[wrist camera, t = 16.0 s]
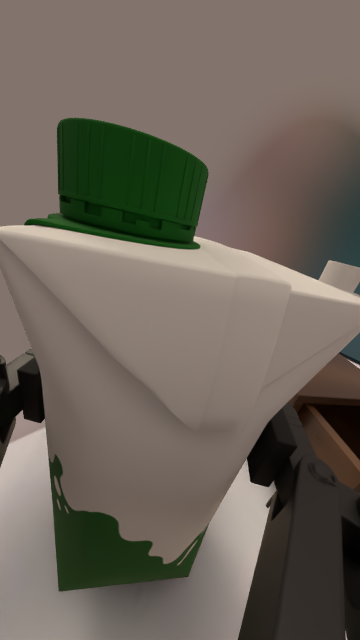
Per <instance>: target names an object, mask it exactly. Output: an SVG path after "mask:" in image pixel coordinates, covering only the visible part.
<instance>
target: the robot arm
mask: <svg viewBox="0 0 360 640" xmlns="http://www.w3.org/2000/svg"><path fill="white" fill-rule="evenodd" d="M22 410H23V415H24V419H27V420H31V421H34V422H38V423H41V422H42V421H43V420H44V419H45V412H44V401H43V391H42V380H41V374H40V369H39V366H38V363H37V360H36V358H35V355H34V353H33V350H32V349H29V350H28V351H26V352H25V354H22V355H21V356H19V357H18V358H16V359H15V360H13V361H12V362H10V363H9V364H7V365H6V362H5V359H4V357H3V356H1V355H0V467H1V464H2V461H3V458H4V455H5V452H6V449H7V447H8V444H9V441H10V438H11V435H12V432H13V430H14V427H15V422H16V418H15V417H16V415H18V414H19V413H20V412H21V411H22ZM247 461H248V468H249V474H250V481H251V482H252V483H255V484H259V485H262V486H266V487H269V486H270V484H271V483H272V482H273V480H275V484H276V488H277V491H276V492H275V493H274V495H273V496H272V497H271V498H270V500H269V501H268V503H267V504H266V507H267V508H269V507H270V510H269V514H268V519H267V523H266V527H265V531H264V535H263V539H262V543H261V547H260V551H259V555H258V559H257V563H256V568H255V572H254V576H253V580H252V584H251V588H250V592H249V596H248V600H247V604H246V608H245V612H244V617H243V621H242V625H241V629H240V633H239V637H238V640H346V637H345V629H346V634H347V639H348V640H360V493H359V492H357V491H355V490H353V489H352V488H350V487H348V486H346V485H345V484H343V483H341V482H340V481H339V480H338V478H337V477H336V475H335V473H334V472H333V470H332V469H331V468H330V467H329V466H328V465H327V464H326V463H325V462H323V461H322V460H321V459H319V458H317V456H316V454H315V452H314V450H313V447H312V445H311V443H310V441H309V439H308V436H307V434H306V432H305V430H304V428H303V425H302V423H301V421H300V420H299V417H298V415H297V412H296V410H295V409H294V408H293V406H292V405H291V404H290V403H289V402H287V403H286V404H285V405H284V406H283V407H282V408H281V409H280V410H279V411H278V412H277V413H276V414H275V415H274V416H273V417H272V418H271V419H270V421H269V422H268V423H267V425H266V426H265V428H264V430H263V431H262V433H261V435H260V436H259V438H258V440H257V441H256V443H255V445H254V446H253V448H252V450H251V452H250V453H249V455H248V457H247ZM270 505H271V506H270Z"/></svg>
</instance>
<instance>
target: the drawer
mask: <svg viewBox="0 0 360 640" xmlns="http://www.w3.org/2000/svg"><path fill="white" fill-rule="evenodd" d="M297 415H298V417H299V420H300V421H301V423H302V425H303V428H304V430H305V432H306V434H307V436H308V439H309V441H310V443H311V445H312V447H313V450H314V452H315V454H316V456H317V458H319V459H321V460H322V461H323V462H325V463H326V464H327V465H328V466H329V467H330V468H331V469H332V470H333V472H334V473H335V475H336V477H337V478H338V480H339V481H340V482H341V483H343V484H345V485H346V486H348V487H350V488H352V489H353V490H355V491H357V492H359V493H360V406H348V405H330V404H311V403H303V405H302V406H301V408H300V409H299V411H298V412H297Z"/></svg>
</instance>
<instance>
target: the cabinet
mask: <svg viewBox="0 0 360 640" xmlns="http://www.w3.org/2000/svg"><path fill="white" fill-rule="evenodd" d="M288 402H289V403H290V404H291V405H292V406H293V408H294V409H295V410H296V412H298V411H299V409H300V408H301V406H302V405H303V403H311V404H330V405H348V406H360V369H359V368H357V367H356V366H355V365H353V364H352V363H351V362H349V361H348V360H347V359H345V358H344V357H343V356H342V355H340V354H339V353H338V354H337V355H336V356H335V357H334V358H333V359H332V360H331V361H330V362H328V363H327V364H326V365H325V366H324V367H323V368H322V369H321V370H320V371H319V372H318V373H317V374H316V375H315V376H314V377H313V378H312V379H311V380H310V381H309V382H308V383H307V384H306V385H305V386H304V387H303V388H302V389H301V390H300V391H299V392H298V393H297V394H296V395H294V396H293V397H292V398H291V399H290V400H289V401H288Z"/></svg>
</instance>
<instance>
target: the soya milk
mask: <svg viewBox="0 0 360 640" xmlns="http://www.w3.org/2000/svg"><path fill="white" fill-rule="evenodd" d="M57 148H58V149H57V151H58V194H60V197H59V200H60V213H57V214H50V215H48V218H47V219H44V218H43V219H41V218H37V219H29V220H27V221H26V222H25V224H24V226H4V227H0V268H1V271H2V273H3V276H4V278H5V280H6V284H7V286H8V289H9V291H10V294H11V296H12V299H13V301H14V304H15V306H16V309H17V312H18V314H19V317H20V319H21V322H22V324H23V327H24V330H25V332H26V335H27V337H28V340H29V342H30V345H31V347H32V350H33V353H34V355H35V358H36V360H37V363H38V366H39V369H40V374H41V380H42V391H43V401H44V412H45V422H46V434H47V445H48V456H49V468H50V479H51V490H52V501H53V515H54V530H55V544H56V558H57V572H58V587H59V591H68V590H77V589H85V588H94V587H103V586H111V585H120V584H129V583H138V582H146V581H155V580H164V579H172V578H181V577H188V576H189V573H190V570H191V568H192V565H193V563H194V560H195V557H196V555H197V552H198V550H199V547H200V545H201V542H202V540H203V537H204V535H205V532H206V530H207V527H208V524H209V522H210V521H211V519H212V517H213V515H214V514H215V512H216V510H217V508H218V507H219V505H220V503H221V501H222V500H223V498H224V496H225V495H226V493H227V491H228V489H229V488H230V486H231V484H232V482H233V481H234V479H235V477H236V476H237V474H238V472H239V470H240V469H241V467H242V465H243V464H244V462H245V460H246V458H247V457H248V455H249V453H250V452H251V450H252V448H253V446H254V445H255V443H256V441H257V440H258V438H259V436H260V435H261V433H262V431H263V430H264V428H265V426H266V425H267V423H268V422H269V421H270V419H271V418H272V417H273V416H274V415H275V414H276V413H277V412H278V411H279V410H280V409H281V408H282V407H283V406H284V405H285V404H286V403H287V402H288V401H289V400H290V399H291V398H292V397H293V396H294V395H296V394H297V393H298V392H299V391H300V390H301V389H302V388H303V387H304V386H305V385H306V384H307V383H308V382H309V381H310V380H311V379H312V378H313V377H314V376H315V375H316V374H317V373H318V372H319V371H320V370H321V369H322V368H323V367H324V366H325V365H326V364H327V363H328V362H330V361H331V360H332V359H333V358H334V357H335V356H336V355H337V354H338V353H339V352H340V351H341V350H342V349H343V348H344V347H345V346H346V345H347V344H348V343H349V342H350V341H351V340H352V339H353V338H354V337H355V336H356V335H357V334H358V333H360V298H359V297H357V296H354V295H352V294H349V293H347V292H345V291H342V290H340V289H337V288H335V287H333V286H330V285H328V284H325V283H323V282H320V281H318V280H315V279H313V278H311V277H308V276H306V275H303V274H301V273H299V272H296V271H294V270H291V269H289V268H286V267H284V266H282V265H279V264H277V263H274V262H272V261H269V260H267V259H264V258H262V257H260V256H257V255H255V254H252V253H250V252H246V251H242V250H237V249H232V248H229V247H227V246H224V245H222V244H219V243H216V242H214V241H210V240H206V239H203V238H199V237H195V236H194V235H195V230H196V227H195V226H197V225H198V219H199V215H200V210H201V206H202V201H203V197H204V192H205V188H206V183H207V179H208V169H207V167H206V165H205V164H204V163H203V162H202V161H201V160H199V159H198V158H197V157H195V156H194V155H192V154H190V153H189V152H187V151H185V150H183V149H182V148H180V147H177V146H175V145H173V144H171V143H169V142H167V141H164V140H162V139H159V138H157V137H154V136H152V135H149V134H146V133H143V132H140V131H137V130H134V129H131V128H127V127H124V126H120V125H116V124H113V123H108V122H104V121H99V120H92V119H85V118H67V119H63V120H61V121H60V122H59V123H58V128H57Z"/></svg>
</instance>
